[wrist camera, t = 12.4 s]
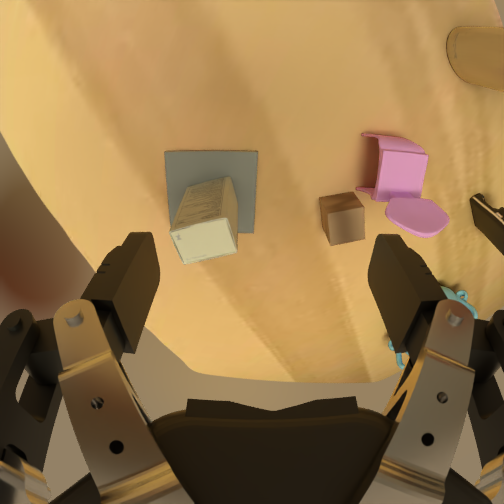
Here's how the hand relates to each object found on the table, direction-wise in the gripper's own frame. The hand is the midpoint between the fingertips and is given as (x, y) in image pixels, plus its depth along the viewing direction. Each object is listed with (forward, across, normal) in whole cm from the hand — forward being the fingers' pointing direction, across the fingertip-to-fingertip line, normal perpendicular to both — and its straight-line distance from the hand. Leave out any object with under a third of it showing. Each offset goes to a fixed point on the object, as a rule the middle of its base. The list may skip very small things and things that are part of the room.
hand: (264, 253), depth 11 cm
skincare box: (+29, +6, +10) cm, 31 cm away
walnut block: (+30, -12, +13) cm, 35 cm away
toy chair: (+30, -17, +5) cm, 35 cm away
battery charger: (+31, -40, +11) cm, 52 cm away
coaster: (+29, +6, +10) cm, 32 cm away
